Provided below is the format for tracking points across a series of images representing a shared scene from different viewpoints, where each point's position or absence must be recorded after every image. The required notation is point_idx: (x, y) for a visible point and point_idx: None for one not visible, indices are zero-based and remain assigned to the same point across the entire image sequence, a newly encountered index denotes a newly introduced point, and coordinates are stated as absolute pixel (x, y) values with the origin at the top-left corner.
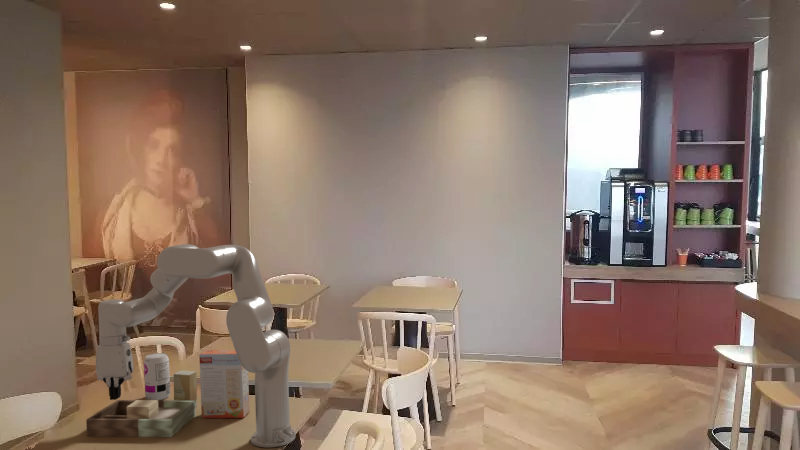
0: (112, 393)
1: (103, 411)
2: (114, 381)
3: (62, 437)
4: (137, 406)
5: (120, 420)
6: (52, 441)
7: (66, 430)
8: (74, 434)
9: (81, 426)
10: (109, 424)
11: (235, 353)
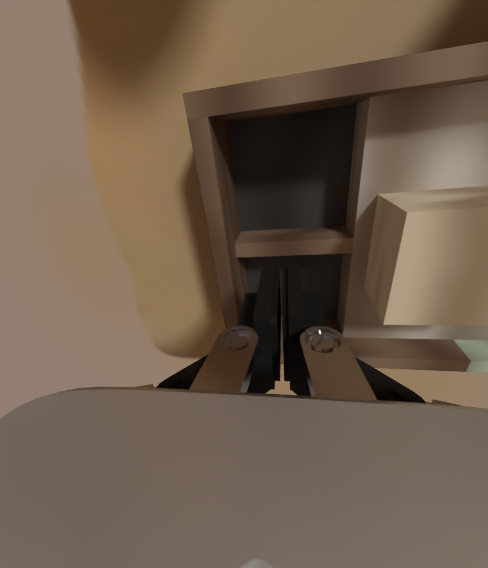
0: (280, 344)
1: (232, 279)
2: (255, 358)
3: (176, 328)
4: (455, 320)
5: (377, 366)
6: (173, 349)
7: (141, 285)
8: (192, 310)
9: (158, 252)
10: None
11: None
